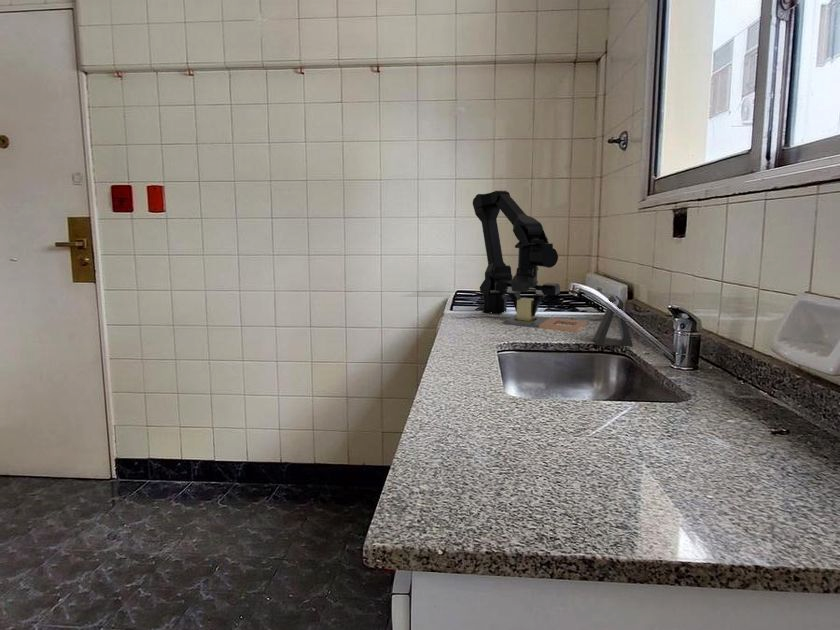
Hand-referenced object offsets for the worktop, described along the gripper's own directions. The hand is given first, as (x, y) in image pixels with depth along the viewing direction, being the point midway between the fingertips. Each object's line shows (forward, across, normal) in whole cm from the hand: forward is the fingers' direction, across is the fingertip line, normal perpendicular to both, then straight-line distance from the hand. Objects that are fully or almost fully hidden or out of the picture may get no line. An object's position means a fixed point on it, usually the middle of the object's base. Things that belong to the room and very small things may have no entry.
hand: (525, 315), depth 170 cm
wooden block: (+2, 0, 0) cm, 2 cm away
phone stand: (+2, +28, -14) cm, 31 cm away
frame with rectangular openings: (+2, +6, 0) cm, 6 cm away
